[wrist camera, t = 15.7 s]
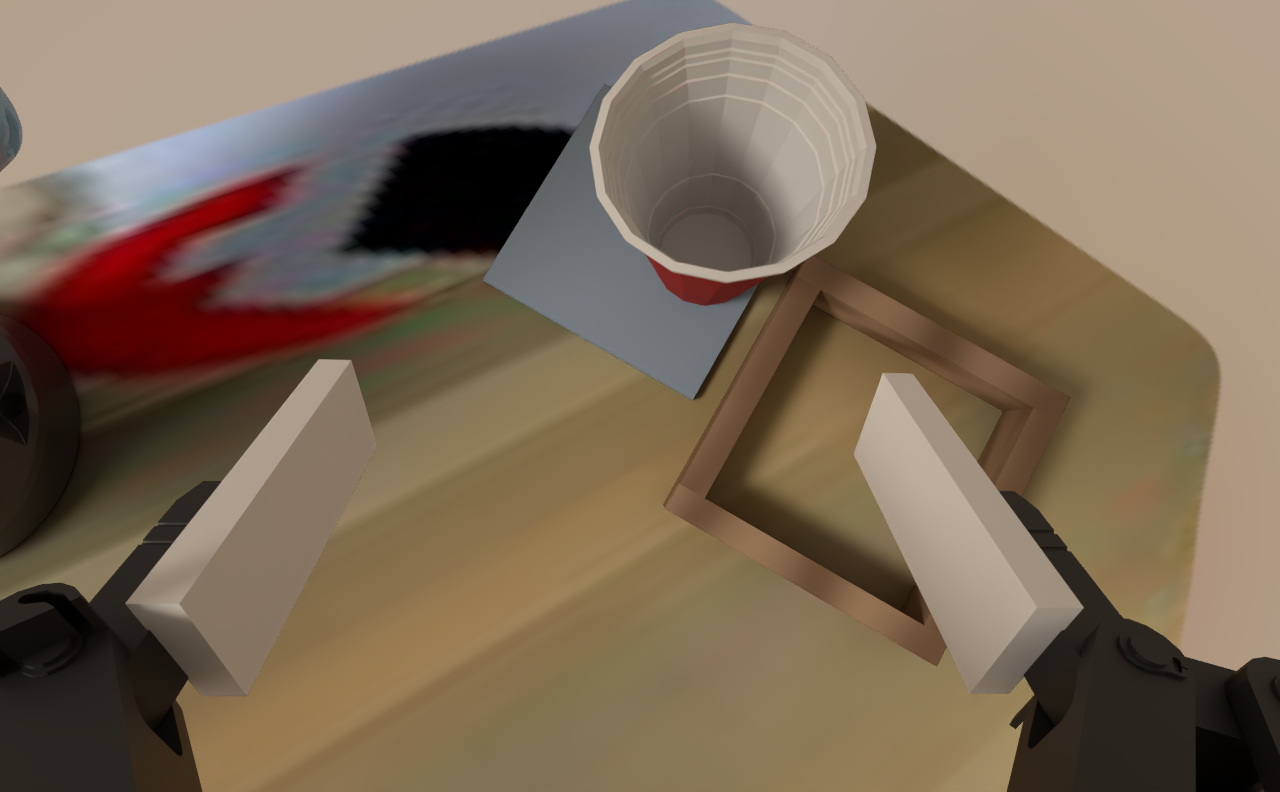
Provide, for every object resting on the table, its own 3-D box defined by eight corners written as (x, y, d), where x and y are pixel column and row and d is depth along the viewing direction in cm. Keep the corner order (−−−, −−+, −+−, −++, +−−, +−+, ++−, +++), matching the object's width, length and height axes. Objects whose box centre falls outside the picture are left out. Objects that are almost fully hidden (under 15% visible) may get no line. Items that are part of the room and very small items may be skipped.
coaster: (484, 282, 33) (482, 279, 33) (605, 89, 35) (604, 83, 34) (692, 400, 33) (692, 399, 32) (805, 199, 34) (808, 196, 34)
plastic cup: (705, 132, 34) (736, -45, 22) (834, 260, 33) (938, 146, 21) (571, 251, 33) (528, 134, 21) (697, 385, 32) (726, 341, 20)
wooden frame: (663, 504, 32) (665, 509, 30) (796, 267, 34) (809, 252, 31) (912, 650, 32) (936, 666, 29) (1037, 401, 33) (1070, 397, 31)
